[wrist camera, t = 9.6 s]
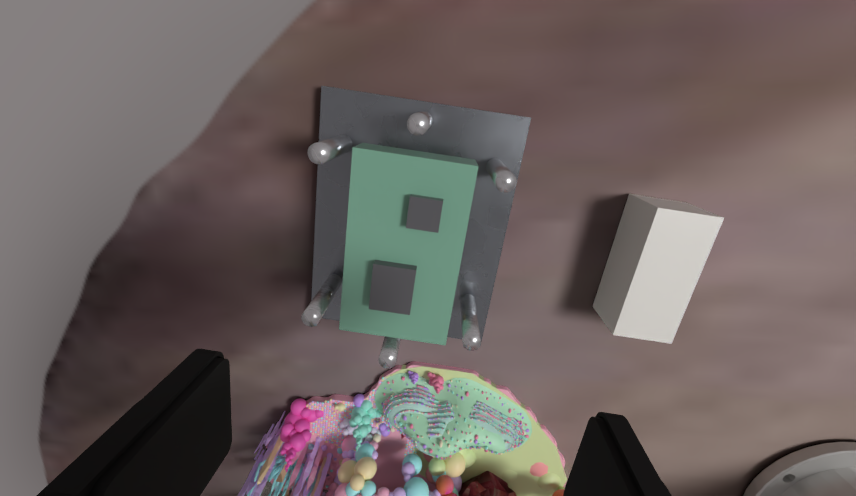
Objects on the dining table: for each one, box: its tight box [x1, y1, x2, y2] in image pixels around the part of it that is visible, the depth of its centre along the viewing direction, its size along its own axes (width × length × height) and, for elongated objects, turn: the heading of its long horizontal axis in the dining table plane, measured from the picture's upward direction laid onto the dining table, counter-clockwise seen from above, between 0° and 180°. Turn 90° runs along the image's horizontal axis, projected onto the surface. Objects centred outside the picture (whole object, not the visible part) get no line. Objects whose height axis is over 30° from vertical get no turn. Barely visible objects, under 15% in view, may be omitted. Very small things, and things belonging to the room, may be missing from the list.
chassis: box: [301, 86, 531, 368], centre depth 23 cm, size 15×12×6 cm
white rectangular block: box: [592, 194, 724, 344], centre depth 24 cm, size 8×4×4 cm, turn 172°
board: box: [339, 143, 479, 345], centre depth 21 cm, size 10×6×3 cm, turn 172°
